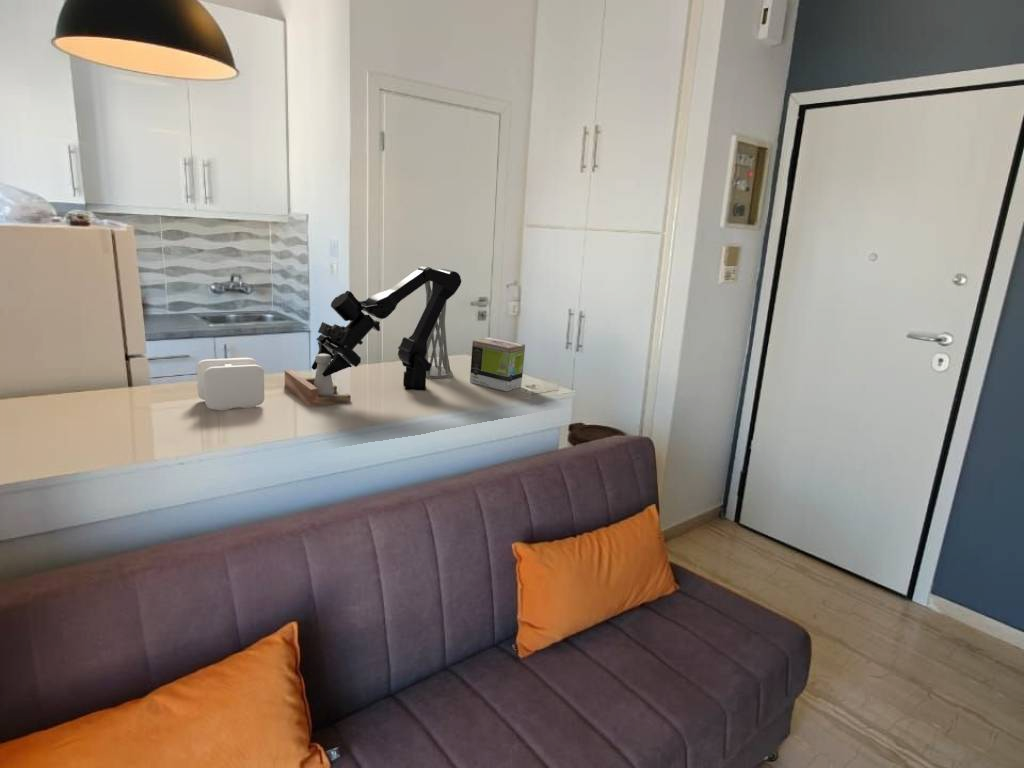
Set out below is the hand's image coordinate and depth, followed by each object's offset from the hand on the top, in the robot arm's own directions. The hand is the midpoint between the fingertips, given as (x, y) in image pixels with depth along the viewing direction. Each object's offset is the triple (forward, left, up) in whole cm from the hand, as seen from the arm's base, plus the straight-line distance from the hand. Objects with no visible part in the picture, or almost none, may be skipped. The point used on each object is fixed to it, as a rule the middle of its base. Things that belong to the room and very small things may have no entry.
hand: (317, 372), depth 173 cm
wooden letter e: (+1, -5, -8) cm, 10 cm away
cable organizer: (+22, +5, -8) cm, 24 cm away
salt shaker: (-1, -1, -8) cm, 8 cm away
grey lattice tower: (-35, -32, -8) cm, 48 cm away
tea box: (-55, -21, -8) cm, 60 cm away
